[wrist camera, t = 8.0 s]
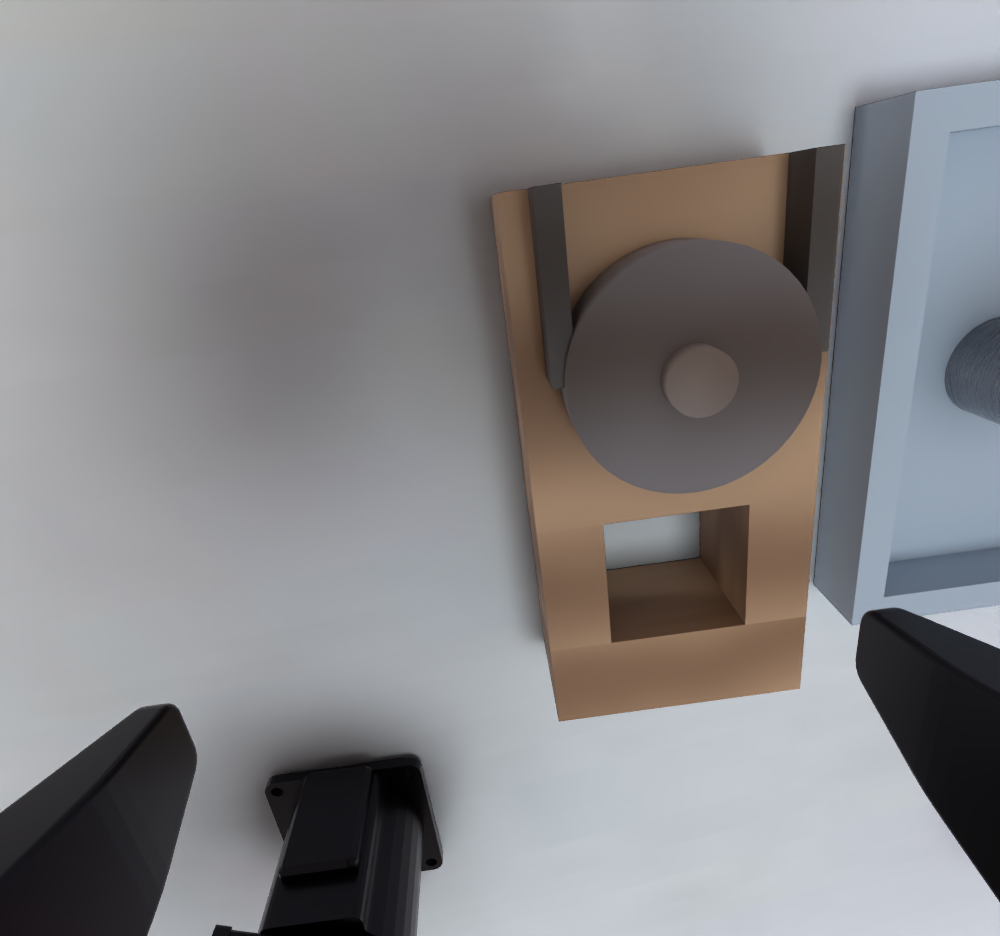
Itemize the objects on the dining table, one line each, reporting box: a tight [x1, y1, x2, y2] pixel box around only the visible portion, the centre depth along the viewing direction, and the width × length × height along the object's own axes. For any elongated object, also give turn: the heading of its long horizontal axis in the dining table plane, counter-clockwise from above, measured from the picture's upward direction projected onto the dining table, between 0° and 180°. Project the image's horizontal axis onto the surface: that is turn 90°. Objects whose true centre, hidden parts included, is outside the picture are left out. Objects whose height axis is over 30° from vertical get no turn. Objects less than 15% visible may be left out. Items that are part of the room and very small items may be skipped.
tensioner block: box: [491, 144, 846, 721], centre depth 18 cm, size 16×8×6 cm, turn 7°
